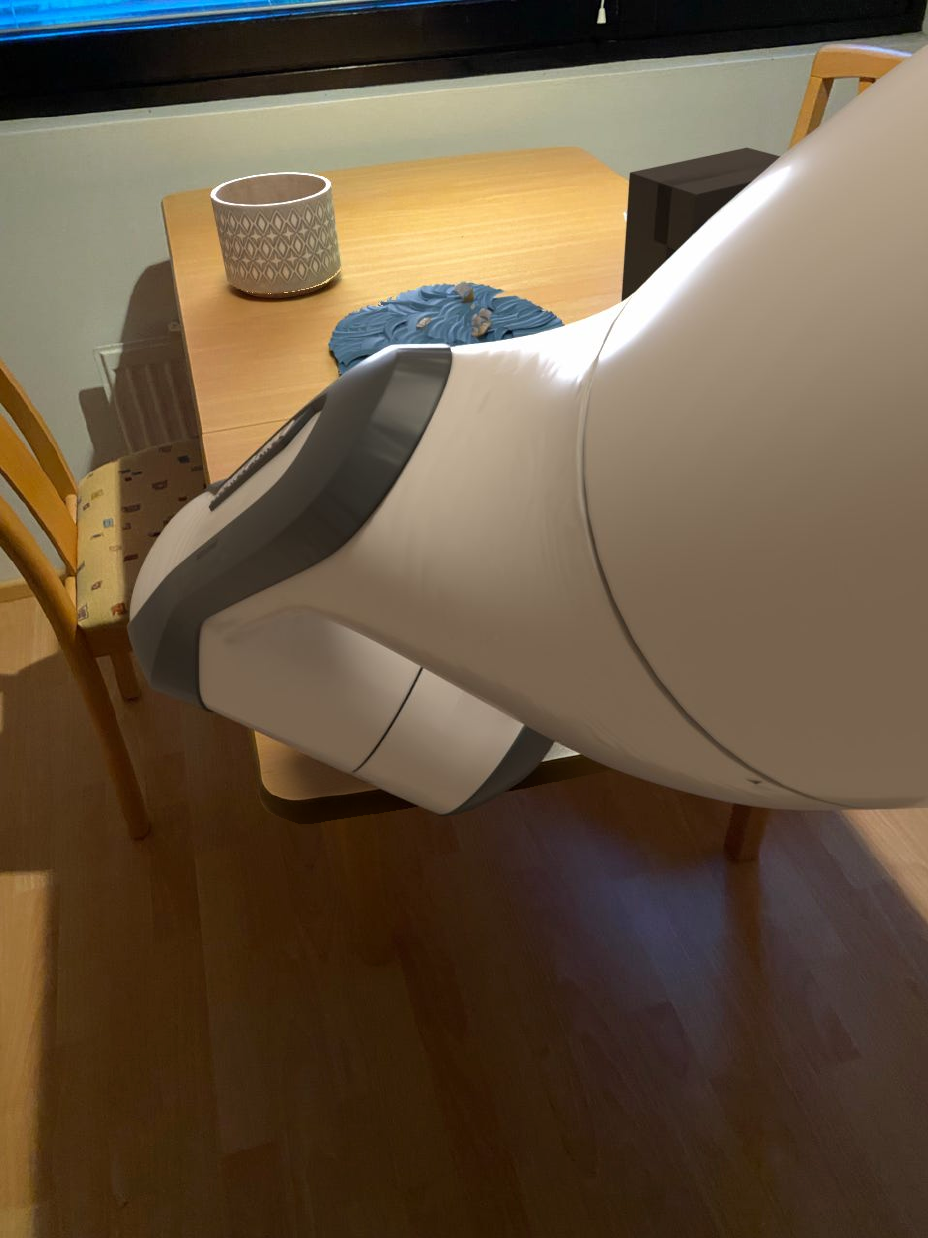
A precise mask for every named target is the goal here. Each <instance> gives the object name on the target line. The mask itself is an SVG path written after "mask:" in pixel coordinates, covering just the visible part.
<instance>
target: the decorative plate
mask: <svg viewBox="0 0 928 1238" xmlns="http://www.w3.org/2000/svg"><path fill="white" fill-rule="evenodd" d="M503 293H506V291H505V290H503V289H501V288H494V287H491V286H490V285H488V284H487V285H485V284H482V283H480V284H477V283H474V282H466V281H465V280H462V281H460V282H459V283H456V284H449V283H442V284H438V283H436V284H433V285H432V284H429V285H422V286H419V287H418V288H416V289H412V290H410V289H409V290H407V291H404V292H400V293H399V294H396V296H397V297H396V300H391V299H392V297H393V296H389V297H390V298H389V297H388V298H386V300H387V302H384V301H385V300H380V301H381V302H380V301H379V302H380V303H381V305H383V306H381V305H379V304H378V303H377V304H378V306H379V307H376V306H370V305H371V304H367V305H368V306H367V305H366V306H362V307H361V308H359V310H360V311H359V312H358V310H353V311H352V312H349V313H348V314H347V315H346V316H344V318H342V319H341V320H339V321H338V322H337V324H336V325H335V328H334V330H332V332H331V337H330V338H329V339H330V340H329V342H328V344H327V346H328V349H329V350H330V351H333V355H334V357H335V358H336V359H337V361H338V364H337V368H338V372H337V373H338V374H340V375H341V376H342V375H343V374H344V373H346V372H347V371H349V370H350V369H352V368H353V367H354V366H356V365H357V364H359V363H360V362H362V361H363V360H365V359H367V358H368V357H370V356H372V355H374V354H375V353H377V352H379V351H381V350H382V349H384V348H386V347H388V346H391V345H406V344H448V345H449V346H450V347H454V346H462V345H470V344H478V343H487V342H495V341H501V340H507V339H512V338H518V337H523V336H528V335H533V334H537V333H541V332H544V331H548V330H552V329H556V328H559V327H562V326H565V325H566V324H565V323H563V319H561V318H560V317H557V314H554V312H553V311H552V310H551V311H549V310H545V308H543V307H542V306H540V305H537V304H535V303H533V301H532V300H528V299H527V298H521V297H520V296H517V295H507V296H499V297H496V296H498V295H500V294H503ZM388 299H389V300H388ZM365 307H367V308H365Z"/></svg>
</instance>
